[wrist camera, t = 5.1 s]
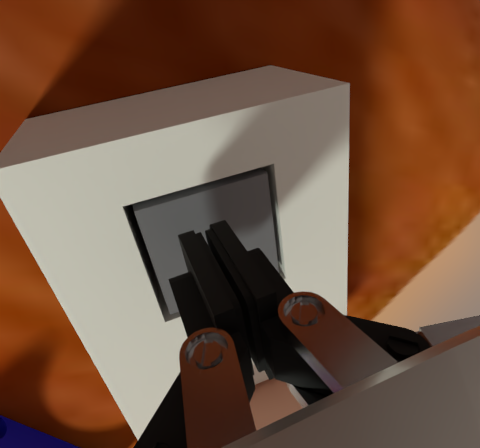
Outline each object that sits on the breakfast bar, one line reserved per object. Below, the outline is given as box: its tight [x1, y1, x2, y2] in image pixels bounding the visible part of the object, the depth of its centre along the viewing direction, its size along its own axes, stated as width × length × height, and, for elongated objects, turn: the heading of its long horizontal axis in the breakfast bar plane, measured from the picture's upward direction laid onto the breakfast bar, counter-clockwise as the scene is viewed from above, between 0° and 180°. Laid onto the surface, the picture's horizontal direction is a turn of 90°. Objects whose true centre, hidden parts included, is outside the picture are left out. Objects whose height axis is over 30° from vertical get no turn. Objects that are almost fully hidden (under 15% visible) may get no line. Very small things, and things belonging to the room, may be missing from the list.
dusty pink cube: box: [249, 378, 302, 431], centre depth 20 cm, size 5×5×6 cm
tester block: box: [0, 65, 350, 440], centre depth 20 cm, size 22×12×7 cm, turn 9°
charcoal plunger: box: [133, 167, 279, 315], centre depth 17 cm, size 5×5×6 cm
